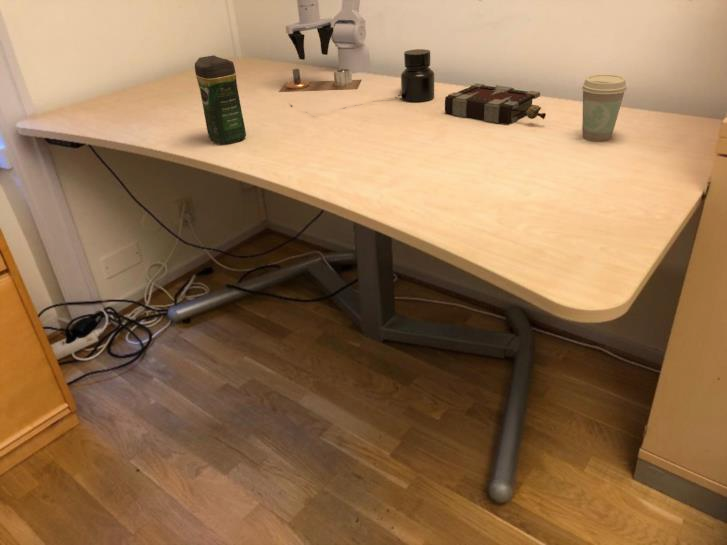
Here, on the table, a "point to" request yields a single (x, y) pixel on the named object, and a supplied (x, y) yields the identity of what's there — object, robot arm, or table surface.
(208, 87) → the coffee jar
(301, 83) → the hub
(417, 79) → the ink bottle
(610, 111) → the coffee cup
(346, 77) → the steel collar
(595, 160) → the table surface
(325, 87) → the walnut board
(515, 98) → the book
